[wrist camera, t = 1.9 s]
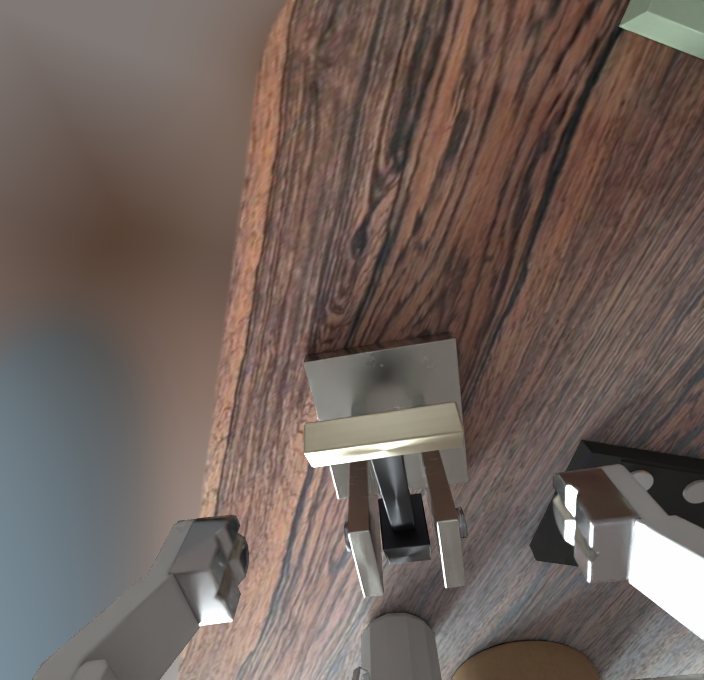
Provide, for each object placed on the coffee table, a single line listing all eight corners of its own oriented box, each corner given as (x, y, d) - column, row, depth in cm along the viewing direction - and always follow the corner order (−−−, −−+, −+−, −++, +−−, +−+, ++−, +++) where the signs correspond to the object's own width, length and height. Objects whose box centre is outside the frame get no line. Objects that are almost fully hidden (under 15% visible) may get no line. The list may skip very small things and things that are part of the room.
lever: (303, 405, 14) (302, 473, 12) (451, 383, 13) (470, 451, 12) (358, 520, 23) (362, 567, 21) (448, 508, 22) (459, 556, 21)
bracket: (305, 354, 28) (272, 475, 17) (451, 331, 27) (514, 442, 16) (339, 488, 33) (329, 649, 22) (464, 471, 32) (520, 630, 21)
